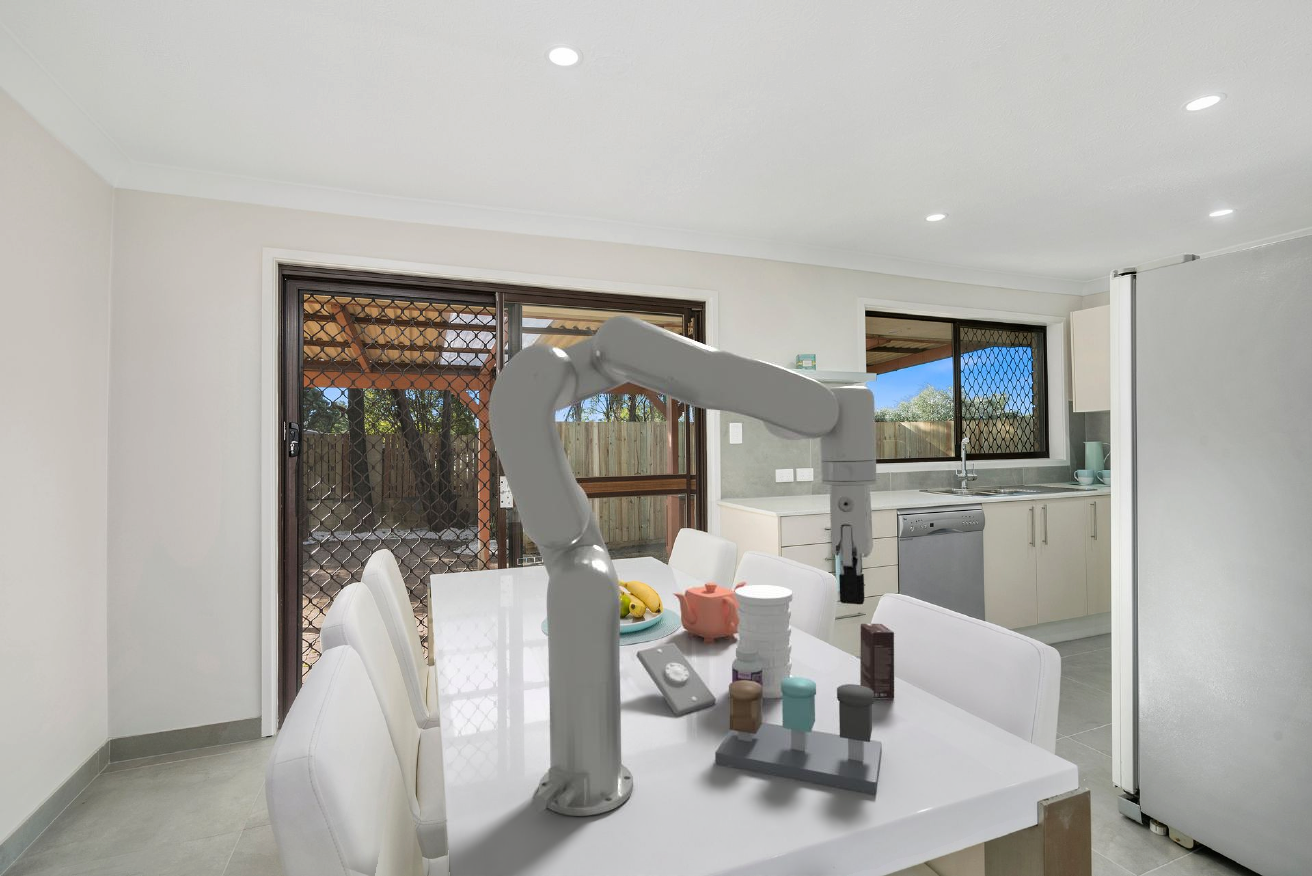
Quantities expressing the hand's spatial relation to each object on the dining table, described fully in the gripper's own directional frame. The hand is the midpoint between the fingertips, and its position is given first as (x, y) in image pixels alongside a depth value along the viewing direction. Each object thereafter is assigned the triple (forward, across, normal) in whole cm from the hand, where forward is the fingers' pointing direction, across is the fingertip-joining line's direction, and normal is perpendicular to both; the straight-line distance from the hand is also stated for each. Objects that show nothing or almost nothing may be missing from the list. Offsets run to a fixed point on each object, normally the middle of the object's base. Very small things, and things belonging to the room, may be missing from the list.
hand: (852, 602), depth 89 cm
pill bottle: (+24, +16, +20) cm, 35 cm away
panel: (+23, 0, +8) cm, 25 cm away
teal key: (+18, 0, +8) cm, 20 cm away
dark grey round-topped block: (+18, 0, 0) cm, 19 cm away
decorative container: (+24, +25, +19) cm, 39 cm away
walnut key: (+20, 0, +16) cm, 26 cm away
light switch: (+24, +14, +33) cm, 43 cm away
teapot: (+24, +51, +38) cm, 68 cm away
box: (+24, +29, -1) cm, 37 cm away
